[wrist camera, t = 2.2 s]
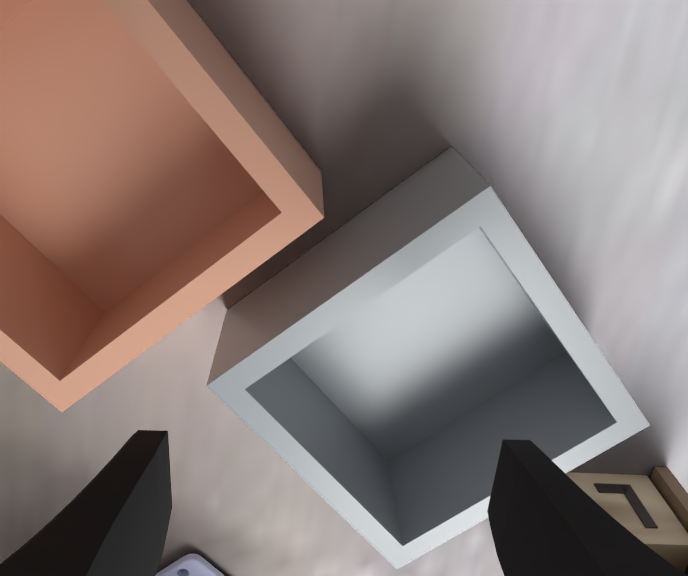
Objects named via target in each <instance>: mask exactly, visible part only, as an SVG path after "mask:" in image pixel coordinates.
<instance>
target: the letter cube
mask: <svg viewBox="0 0 688 576" xmlns="http://www.w3.org/2000/svg"><path fill="white" fill-rule="evenodd" d="M566 475H567V476H568V477H569V478H570V479H572V480H573V481H574V482H575V483H576V484H577V485H578V486H579V487H580V488H581V489H582V490H583V491H584V492H585V493H586V494H587V495H589V496H590V497H591V498H592V499H593V500H594V501H595V502H596V503H597V504H598V505H599V506H601V507H602V508H603V509H604V510H605V511H606V512H607V513H608V514H610V515H611V516H612V517H613V518H614V519H615V520H616V521H618V522H619V523H620V524H621V525H622V526H624V527H625V528H626V529H627V530H628V531H630V532H631V533H632V534H633V535H634V536H636V537H637V538H638V539H639V540H640V541H642V542H643V543H644V544H646V545H647V546H648V547H649V548H651V549H652V550H653V551H655V552H656V553H657V554H658V555H660V556H661V557H663V558H664V559H665V560H667V561H668V562H669V563H671V564H672V565H674V566H675V567H676V568H678V569H679V570H680V571H682V572H683V573H684V572H685V570H686V568H687V565H688V533H687V531H686V530H685V529H684V527H683V526H682V524H681V523H680V522H679V520H678V519H677V517H676V516H675V514H674V513H673V512H672V510H671V509H670V507H669V506H668V505H667V503H666V502H665V500H664V499H663V498H662V496H661V495H660V493H659V492H658V491H657V489H656V488H655V486H654V485H653V483H652V482H651V481H650V479H649V478H648V476H647V475H627V474H601V473H574V472H567V473H566Z"/></svg>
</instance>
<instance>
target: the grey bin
mask: <svg viewBox="0 0 688 576" xmlns="http://www.w3.org/2000/svg"><path fill="white" fill-rule="evenodd" d="M207 387H208V388H209V389H210V390H211V391H212V392H213V393H214V394H215V395H216V396H218V397H219V398H220V399H221V400H222V401H223V402H224V403H225V404H226V405H227V406H228V407H229V408H230V409H231V410H232V411H233V412H234V413H235V414H236V415H237V416H238V417H239V418H240V419H241V420H242V421H243V422H245V423H246V424H247V425H248V426H249V427H250V428H251V429H252V430H253V431H254V432H255V433H256V434H257V435H258V436H259V437H260V438H261V439H262V440H263V441H264V442H265V443H266V444H267V445H268V446H269V447H270V448H272V449H273V450H274V451H275V452H276V453H277V454H278V455H279V456H280V457H281V458H282V459H283V460H284V461H285V462H286V463H287V464H288V465H289V466H290V467H291V468H292V469H293V470H294V471H295V472H296V473H297V474H299V475H300V476H301V477H302V478H303V479H304V480H305V481H306V482H307V483H308V484H309V485H310V486H311V487H312V488H313V489H314V490H315V491H316V492H317V493H318V494H319V495H320V496H321V497H322V498H323V499H325V500H326V501H327V502H328V503H329V504H330V505H331V506H332V507H333V508H334V509H335V510H336V511H337V512H338V513H339V514H340V515H341V516H342V517H343V518H344V519H345V520H346V521H347V522H348V523H349V524H350V525H352V526H353V527H354V528H355V529H356V530H357V531H358V532H359V533H360V534H361V535H362V536H363V537H364V538H365V539H366V540H367V541H368V542H369V543H370V544H371V545H372V546H373V547H374V548H375V549H376V550H377V551H379V552H380V553H381V554H382V555H383V556H384V557H385V558H386V559H387V560H388V561H389V562H390V563H391V564H392V565H393V566H394V567H395V568H396V569H399V568H400V567H402V566H404V565H406V564H407V563H409V562H411V561H413V560H414V559H416V558H418V557H420V556H421V555H423V554H425V553H427V552H429V551H430V550H432V549H434V548H436V547H437V546H439V545H441V544H443V543H444V542H446V541H448V540H450V539H451V538H453V537H455V536H457V535H458V534H460V533H462V532H464V531H465V530H467V529H469V528H471V527H472V526H474V525H476V524H478V523H479V522H481V521H483V520H485V519H486V518H488V512H487V510H488V505H489V501H490V496H491V491H492V487H493V482H494V478H495V473H496V468H497V464H498V459H499V455H500V450H501V445H502V441H503V439H509V440H531V441H532V442H533V443H534V444H535V445H536V446H537V447H538V448H539V449H540V450H541V451H543V452H544V453H545V454H546V455H547V456H548V457H549V458H550V459H551V460H552V461H553V462H554V463H555V464H556V465H557V466H558V467H559V468H560V469H561V470H562V471H563V472H564V473H565V474H566V473H567V472H569V471H571V470H573V469H574V468H576V467H578V466H580V465H581V464H583V463H585V462H587V461H588V460H590V459H592V458H594V457H595V456H597V455H599V454H601V453H602V452H604V451H606V450H608V449H609V448H611V447H613V446H615V445H617V444H618V443H620V442H622V441H624V440H625V439H627V438H629V437H631V436H632V435H634V434H636V433H638V432H639V431H641V430H643V429H645V428H646V427H648V426H650V424H649V423H648V421H647V420H646V418H645V417H644V415H643V414H642V412H641V411H640V409H639V408H638V406H637V405H636V403H635V402H634V400H633V399H632V397H631V396H630V394H629V393H628V391H627V390H626V388H625V387H624V385H623V384H622V382H621V381H620V379H619V378H618V376H617V375H616V373H615V372H614V370H613V369H612V367H611V366H610V364H609V363H608V361H607V360H606V358H605V357H604V355H603V354H602V352H601V351H600V349H599V348H598V346H597V345H596V343H595V342H594V340H593V339H592V337H591V336H590V334H589V333H588V331H587V330H586V328H585V327H584V325H583V324H582V322H581V321H580V319H579V318H578V316H577V315H576V313H575V312H574V310H573V309H572V307H571V306H570V304H569V303H568V301H567V300H566V298H565V297H564V295H563V294H562V292H561V291H560V289H559V288H558V286H557V285H556V283H555V282H554V280H553V279H552V277H551V276H550V274H549V273H548V271H547V270H546V268H545V267H544V265H543V264H542V262H541V261H540V259H539V258H538V256H537V255H536V253H535V252H534V250H533V249H532V247H531V246H530V244H529V243H528V241H527V240H526V238H525V237H524V235H523V234H522V232H521V231H520V229H519V228H518V226H517V225H516V223H515V222H514V220H513V219H512V217H511V216H510V214H509V213H508V211H507V210H506V208H505V207H504V205H503V204H502V202H501V201H500V199H499V198H498V196H497V195H496V193H495V192H494V190H493V189H492V187H491V186H490V185H489V184H488V183H487V182H486V181H485V180H484V179H483V178H482V177H481V176H480V175H479V174H478V173H477V172H476V171H475V169H474V168H473V167H472V166H471V165H470V164H469V163H468V162H467V161H466V160H465V159H464V158H463V157H462V156H461V155H460V154H459V153H458V152H457V151H456V150H455V149H454V148H453V147H452V146H450V147H449V148H448V149H446V150H445V151H444V152H442V153H441V154H440V155H438V156H437V157H435V158H434V159H433V160H431V161H430V162H429V163H427V164H426V165H425V166H423V167H422V168H420V169H419V170H418V171H416V172H415V173H414V174H412V175H411V176H410V177H408V178H407V179H405V180H404V181H403V182H401V183H400V184H399V185H397V186H396V187H395V188H393V189H392V190H390V191H389V192H388V193H386V194H385V195H384V196H382V197H381V198H379V199H378V200H377V201H375V202H374V203H373V204H371V205H370V206H369V207H367V208H366V209H364V210H363V211H362V212H360V213H359V214H358V215H356V216H355V217H354V218H352V219H351V220H349V221H348V222H347V223H345V224H344V225H343V226H341V227H340V228H339V229H337V230H336V231H334V232H333V233H332V234H330V235H329V236H328V237H326V238H325V239H324V240H322V241H321V242H319V243H318V244H317V245H315V246H314V247H313V248H311V249H310V250H309V251H307V252H306V253H304V254H303V255H302V256H300V257H299V258H298V259H296V260H295V261H294V262H292V263H291V264H289V265H288V266H287V267H285V268H284V269H283V270H281V271H280V272H279V273H277V274H276V275H274V276H273V277H272V278H270V279H269V280H268V281H266V282H265V283H264V284H262V285H261V286H259V287H258V288H257V289H255V290H254V291H253V292H251V293H250V294H249V295H247V296H246V297H244V298H243V299H242V300H240V301H239V302H238V303H236V304H235V305H234V306H232V307H231V308H229V309H228V310H227V312H226V315H225V319H224V323H223V326H222V330H221V334H220V338H219V341H218V345H217V349H216V353H215V356H214V360H213V364H212V367H211V371H210V375H209V379H208V382H207Z"/></svg>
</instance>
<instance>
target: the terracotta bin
mask: <svg viewBox="0 0 688 576" xmlns="http://www.w3.org/2000/svg"><path fill="white" fill-rule="evenodd" d="M323 218H324V205H323V190H322V175H321V170H320V169H319V168H318V166H317V165H316V164H315V163H314V161H313V160H312V159H311V157H310V156H309V155H308V154H307V152H306V151H305V150H304V149H303V147H302V146H301V145H300V143H299V142H298V141H297V140H296V138H295V137H294V136H293V135H292V133H291V132H290V131H289V129H288V128H287V127H286V126H285V124H284V123H283V122H282V121H281V119H280V118H279V117H278V115H277V114H276V113H275V112H274V110H273V109H272V108H271V107H270V105H269V104H268V103H267V101H266V100H265V99H264V98H263V96H262V95H261V94H260V93H259V91H258V90H257V89H256V87H255V86H254V85H253V84H252V82H251V81H250V80H249V79H248V77H247V76H246V75H245V74H244V72H243V71H242V70H241V68H240V67H239V66H238V65H237V63H236V62H235V61H234V60H233V58H232V57H231V56H230V54H229V53H228V52H227V51H226V49H225V48H224V47H223V46H222V44H221V43H220V42H219V40H218V39H217V38H216V37H215V35H214V34H213V33H212V32H211V30H210V29H209V28H208V26H207V25H206V24H205V23H204V21H203V20H202V19H201V18H200V16H199V15H198V14H197V12H196V11H195V10H194V9H193V7H192V6H191V5H190V4H189V2H188V1H187V0H0V361H1V362H2V363H3V364H4V365H5V366H7V367H8V368H9V369H10V370H11V371H13V372H14V373H15V374H16V375H17V376H19V377H20V378H21V379H22V380H23V381H25V382H26V383H27V384H28V385H29V386H31V387H32V388H33V389H34V390H35V391H37V392H38V393H39V394H40V395H41V396H42V397H44V398H45V399H46V400H47V401H48V402H50V403H51V404H52V405H53V406H54V407H56V408H57V409H58V410H59V411H60V412H63V411H65V410H66V409H67V408H69V407H70V406H71V405H73V404H74V403H75V402H77V401H78V400H79V399H81V398H82V397H83V396H85V395H86V394H87V393H89V392H90V391H91V390H93V389H94V388H96V387H97V386H98V385H100V384H101V383H102V382H104V381H105V380H106V379H108V378H109V377H110V376H112V375H113V374H114V373H116V372H117V371H118V370H120V369H121V368H122V367H124V366H125V365H126V364H128V363H129V362H131V361H132V360H133V359H135V358H136V357H137V356H139V355H140V354H141V353H143V352H144V351H145V350H147V349H148V348H149V347H151V346H152V345H153V344H155V343H156V342H157V341H159V340H160V339H162V338H163V337H164V336H166V335H167V334H168V333H170V332H171V331H172V330H174V329H175V328H176V327H178V326H179V325H180V324H182V323H183V322H184V321H186V320H187V319H188V318H190V317H191V316H193V315H194V314H195V313H197V312H198V311H199V310H201V309H202V308H203V307H205V306H206V305H207V304H209V303H210V302H211V301H213V300H214V299H215V298H217V297H218V296H219V295H221V294H222V293H223V292H225V291H226V290H228V289H229V288H230V287H232V286H233V285H234V284H236V283H237V282H238V281H240V280H241V279H242V278H244V277H245V276H246V275H248V274H249V273H250V272H252V271H253V270H254V269H256V268H257V267H259V266H260V265H261V264H263V263H264V262H265V261H267V260H268V259H269V258H271V257H272V256H273V255H275V254H276V253H277V252H279V251H280V250H281V249H283V248H284V247H285V246H287V245H288V244H290V243H291V242H292V241H294V240H295V239H296V238H298V237H299V236H300V235H302V234H303V233H304V232H306V231H307V230H308V229H310V228H311V227H312V226H314V225H315V224H316V223H318V222H319V221H320V220H322V219H323Z"/></svg>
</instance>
